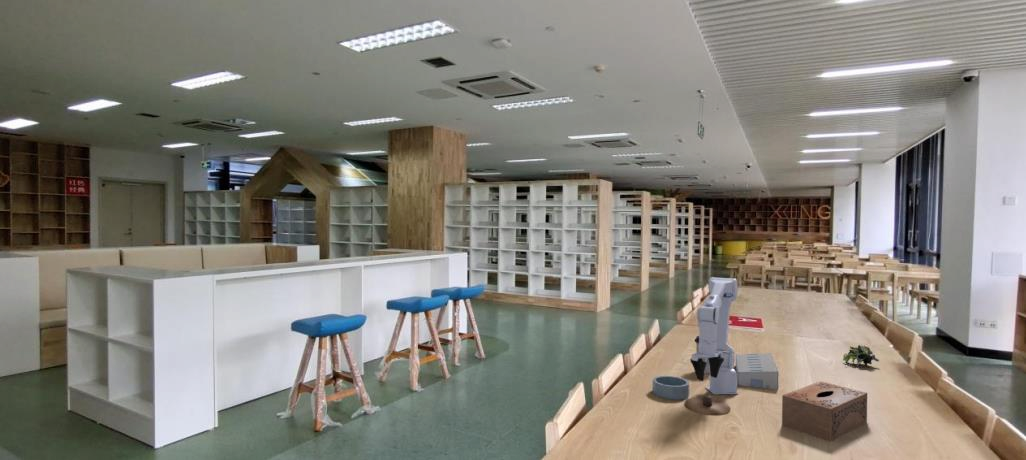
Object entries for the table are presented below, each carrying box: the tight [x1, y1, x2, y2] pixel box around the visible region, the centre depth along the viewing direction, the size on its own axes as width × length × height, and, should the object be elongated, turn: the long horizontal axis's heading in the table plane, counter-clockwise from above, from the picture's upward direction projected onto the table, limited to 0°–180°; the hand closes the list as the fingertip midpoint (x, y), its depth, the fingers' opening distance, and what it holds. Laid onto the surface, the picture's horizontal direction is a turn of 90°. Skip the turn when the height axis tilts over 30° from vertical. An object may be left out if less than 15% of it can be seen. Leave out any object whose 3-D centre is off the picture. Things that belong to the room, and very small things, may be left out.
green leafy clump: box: [842, 344, 880, 368], centre depth 231 cm, size 11×11×12 cm
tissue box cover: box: [781, 380, 868, 442], centre depth 163 cm, size 26×14×10 cm, turn 125°
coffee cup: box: [694, 335, 710, 374], centre depth 220 cm, size 9×9×15 cm
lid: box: [684, 394, 731, 416], centre depth 177 cm, size 15×15×4 cm
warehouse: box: [735, 352, 779, 391], centre depth 213 cm, size 30×14×8 cm, turn 158°
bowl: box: [652, 375, 690, 401], centre depth 191 cm, size 13×13×5 cm
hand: (706, 378), depth 178 cm, fingers open, 7 cm apart
